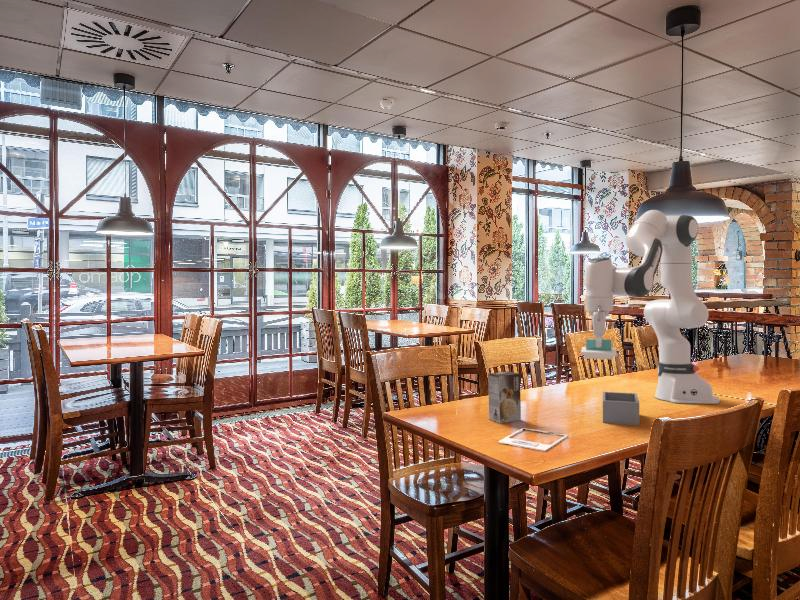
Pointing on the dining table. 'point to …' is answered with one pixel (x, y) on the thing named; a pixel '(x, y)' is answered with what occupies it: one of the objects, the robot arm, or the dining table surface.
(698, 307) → the robot arm
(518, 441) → the photo frame
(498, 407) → the coffee box
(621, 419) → the tub
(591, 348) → the lid
